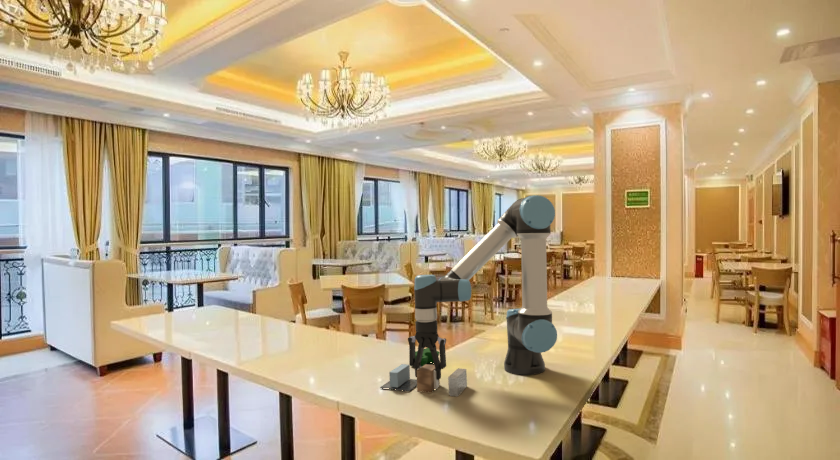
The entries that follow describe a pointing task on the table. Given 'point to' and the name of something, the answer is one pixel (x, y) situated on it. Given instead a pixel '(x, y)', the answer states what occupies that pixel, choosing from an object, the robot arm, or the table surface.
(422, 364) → the clamp
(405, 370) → the blue-gray rectangular block
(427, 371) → the block
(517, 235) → the robot arm
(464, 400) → the table surface
